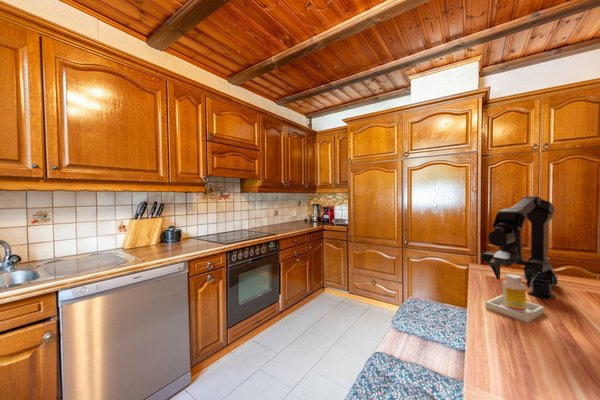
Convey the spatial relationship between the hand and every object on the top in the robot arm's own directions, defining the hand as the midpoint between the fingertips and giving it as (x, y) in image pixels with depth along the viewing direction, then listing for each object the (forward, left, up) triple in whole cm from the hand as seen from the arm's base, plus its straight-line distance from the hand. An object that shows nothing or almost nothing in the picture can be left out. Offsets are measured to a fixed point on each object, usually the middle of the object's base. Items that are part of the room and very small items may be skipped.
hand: (512, 283), depth 88 cm
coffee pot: (-44, -7, -11) cm, 46 cm away
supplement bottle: (0, 0, -10) cm, 10 cm away
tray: (0, 0, -11) cm, 11 cm away
